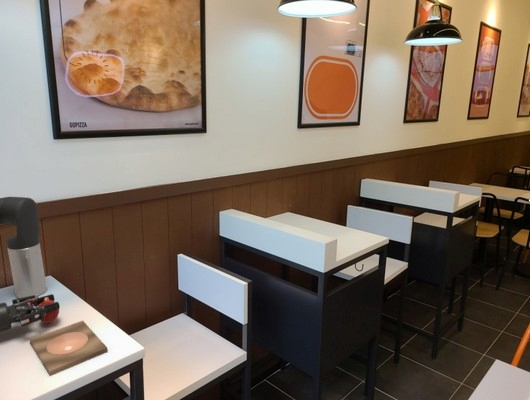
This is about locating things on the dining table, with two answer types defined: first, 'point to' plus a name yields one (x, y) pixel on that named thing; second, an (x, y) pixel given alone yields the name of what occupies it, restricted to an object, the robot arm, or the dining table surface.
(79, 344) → the serving board
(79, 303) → the dining table surface
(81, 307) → the dining table surface
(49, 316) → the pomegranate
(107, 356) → the dining table surface
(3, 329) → the robot arm
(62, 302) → the dining table surface
